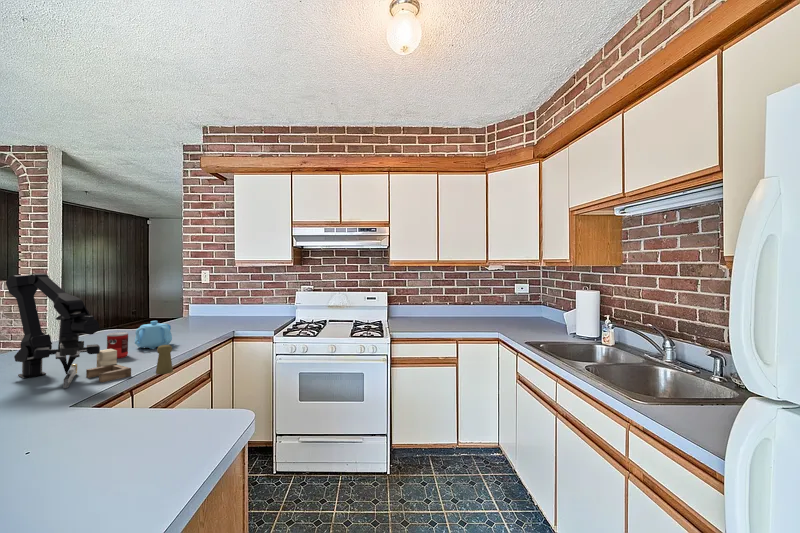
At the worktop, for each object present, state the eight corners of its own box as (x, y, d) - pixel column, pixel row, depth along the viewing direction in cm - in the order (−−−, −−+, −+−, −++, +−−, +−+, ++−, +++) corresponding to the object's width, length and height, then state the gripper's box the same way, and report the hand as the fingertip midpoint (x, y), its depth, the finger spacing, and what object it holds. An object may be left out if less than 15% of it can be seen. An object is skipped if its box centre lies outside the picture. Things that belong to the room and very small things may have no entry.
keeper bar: (71, 373, 153) (71, 364, 153) (77, 372, 154) (77, 363, 154) (62, 388, 135) (62, 378, 135) (69, 387, 136) (69, 377, 136)
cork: (169, 369, 163) (169, 343, 163) (175, 372, 159) (175, 345, 159) (153, 372, 159) (153, 345, 158) (158, 375, 155) (159, 347, 155)
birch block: (96, 370, 159) (96, 350, 159) (110, 367, 164) (110, 348, 164) (102, 372, 157) (102, 352, 157) (116, 369, 161) (116, 350, 161)
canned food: (104, 356, 181) (105, 333, 181) (125, 354, 187) (125, 331, 187) (108, 359, 176) (109, 335, 176) (129, 357, 182) (130, 333, 182)
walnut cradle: (86, 377, 150) (86, 369, 150) (115, 371, 159) (115, 363, 159) (101, 382, 144) (101, 374, 144) (131, 375, 153) (131, 368, 153)
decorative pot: (167, 349, 199) (168, 323, 199) (130, 351, 194) (131, 323, 194) (174, 343, 214) (175, 318, 214) (140, 344, 209) (141, 319, 209)
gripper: (34, 337, 135) (31, 382, 134) (101, 334, 147) (99, 375, 146) (36, 332, 143) (33, 375, 143) (100, 329, 155) (97, 369, 155)
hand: (66, 373), depth 146 cm, fingers closed
